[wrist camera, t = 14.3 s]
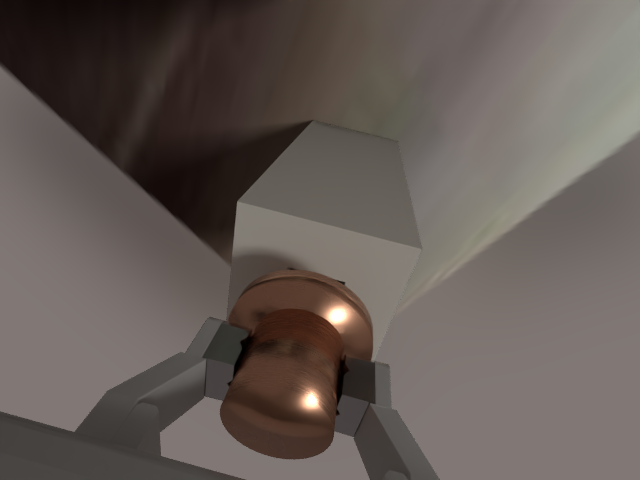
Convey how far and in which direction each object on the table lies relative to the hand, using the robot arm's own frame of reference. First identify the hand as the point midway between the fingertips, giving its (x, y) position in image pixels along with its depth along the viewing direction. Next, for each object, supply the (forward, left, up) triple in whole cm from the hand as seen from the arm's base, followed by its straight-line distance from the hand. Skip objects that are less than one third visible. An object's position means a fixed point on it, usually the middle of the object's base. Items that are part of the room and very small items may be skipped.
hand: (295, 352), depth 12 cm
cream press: (0, 0, -20) cm, 20 cm away
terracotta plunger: (0, 0, -16) cm, 16 cm away
